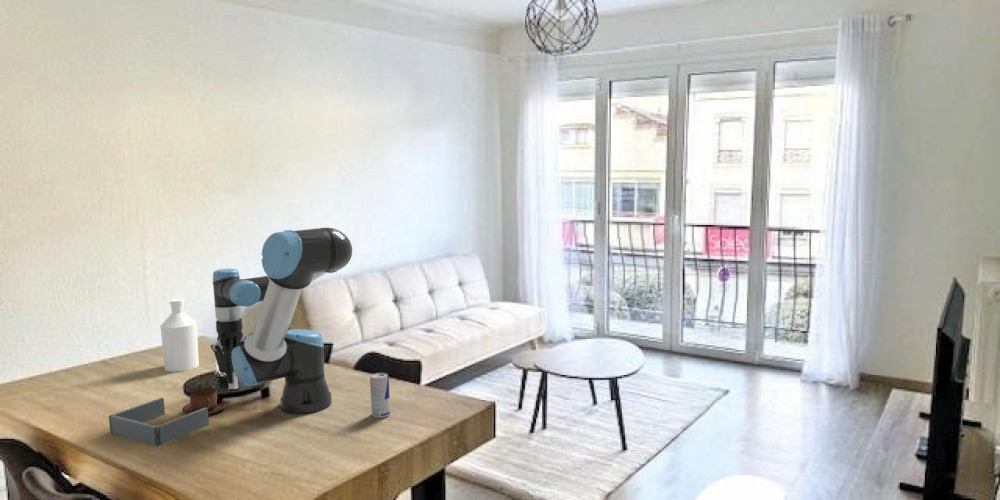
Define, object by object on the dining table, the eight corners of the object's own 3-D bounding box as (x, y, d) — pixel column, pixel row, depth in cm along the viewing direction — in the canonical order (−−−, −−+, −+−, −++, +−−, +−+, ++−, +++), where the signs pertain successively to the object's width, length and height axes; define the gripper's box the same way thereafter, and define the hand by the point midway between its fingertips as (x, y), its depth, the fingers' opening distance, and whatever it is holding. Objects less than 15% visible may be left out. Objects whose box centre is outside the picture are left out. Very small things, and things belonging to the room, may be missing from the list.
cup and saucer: (235, 408, 202) (233, 389, 201) (199, 422, 192) (198, 401, 191) (209, 402, 208) (208, 383, 207) (174, 414, 198) (172, 394, 197)
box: (208, 424, 189) (207, 407, 189) (157, 446, 175) (156, 428, 175) (162, 413, 198) (161, 397, 198) (110, 433, 184) (108, 415, 184)
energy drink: (393, 412, 197) (391, 373, 195) (385, 419, 192) (383, 378, 190) (376, 410, 198) (375, 371, 197) (368, 417, 193) (366, 377, 191)
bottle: (157, 368, 243) (151, 301, 240) (187, 360, 253) (182, 295, 250) (175, 373, 237) (170, 304, 233) (206, 365, 246) (201, 299, 243)
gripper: (237, 313, 214) (242, 384, 217) (202, 322, 202) (208, 396, 205) (254, 315, 210) (258, 387, 213) (219, 324, 199) (224, 400, 202)
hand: (233, 392), depth 209 cm, fingers closed
